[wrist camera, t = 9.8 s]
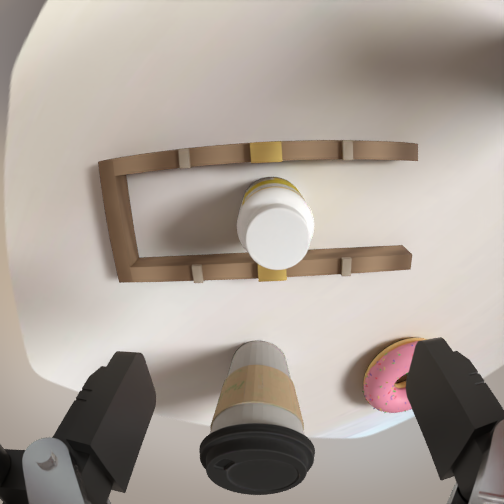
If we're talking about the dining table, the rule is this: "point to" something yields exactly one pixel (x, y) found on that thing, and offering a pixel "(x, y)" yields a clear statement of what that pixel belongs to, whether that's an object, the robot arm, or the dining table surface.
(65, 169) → the dining table surface
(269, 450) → the coffee cup
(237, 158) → the wooden u-shaped frame
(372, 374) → the doughnut
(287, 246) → the supplement bottle
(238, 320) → the dining table surface
